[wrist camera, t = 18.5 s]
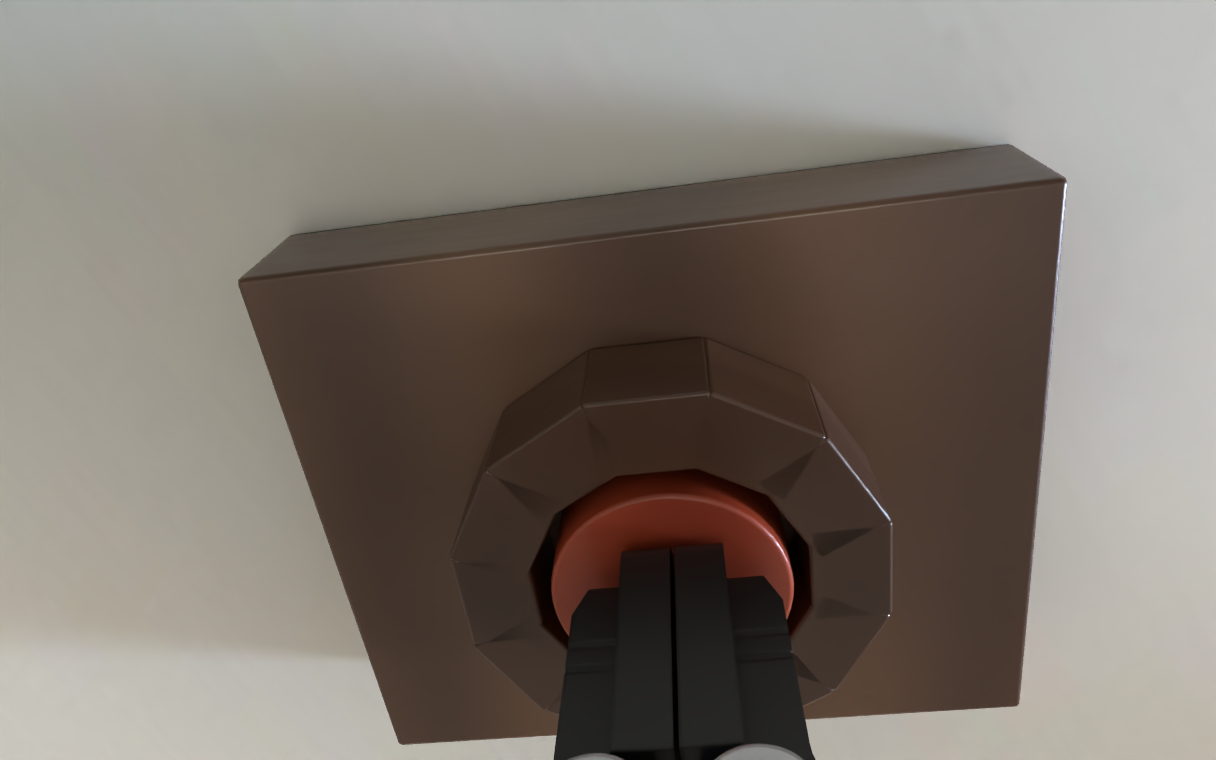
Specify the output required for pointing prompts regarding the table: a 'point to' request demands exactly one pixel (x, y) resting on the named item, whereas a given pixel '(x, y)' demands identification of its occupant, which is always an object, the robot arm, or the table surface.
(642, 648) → the robot arm
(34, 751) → the table surface
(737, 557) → the button
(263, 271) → the button block
